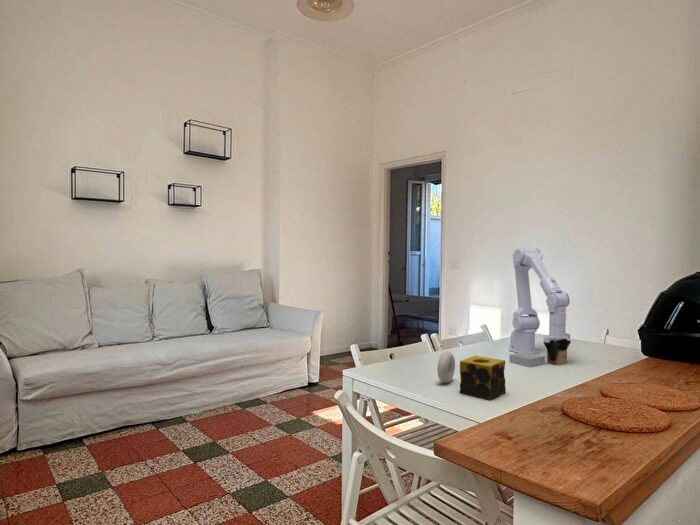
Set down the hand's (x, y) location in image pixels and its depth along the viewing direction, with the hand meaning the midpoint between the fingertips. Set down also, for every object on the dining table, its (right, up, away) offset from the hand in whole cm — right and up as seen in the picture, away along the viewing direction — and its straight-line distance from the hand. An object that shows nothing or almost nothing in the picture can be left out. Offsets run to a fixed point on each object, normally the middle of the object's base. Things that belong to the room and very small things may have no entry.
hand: (556, 359), depth 175 cm
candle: (-39, -2, -38) cm, 55 cm away
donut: (-48, -2, -27) cm, 55 cm away
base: (-12, -1, 0) cm, 12 cm away
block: (0, -2, 0) cm, 2 cm away
